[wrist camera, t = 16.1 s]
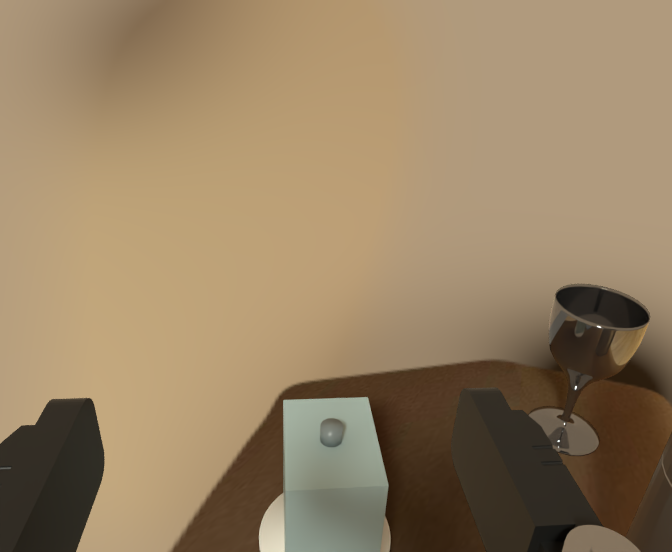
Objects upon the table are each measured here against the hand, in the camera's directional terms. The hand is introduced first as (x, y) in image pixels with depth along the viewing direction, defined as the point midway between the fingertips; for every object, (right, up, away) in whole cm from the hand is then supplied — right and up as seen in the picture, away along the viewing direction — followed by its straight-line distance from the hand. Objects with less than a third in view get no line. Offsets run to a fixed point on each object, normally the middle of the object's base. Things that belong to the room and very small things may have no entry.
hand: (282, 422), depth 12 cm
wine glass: (+25, -13, +44) cm, 52 cm away
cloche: (0, -17, +31) cm, 35 cm away
